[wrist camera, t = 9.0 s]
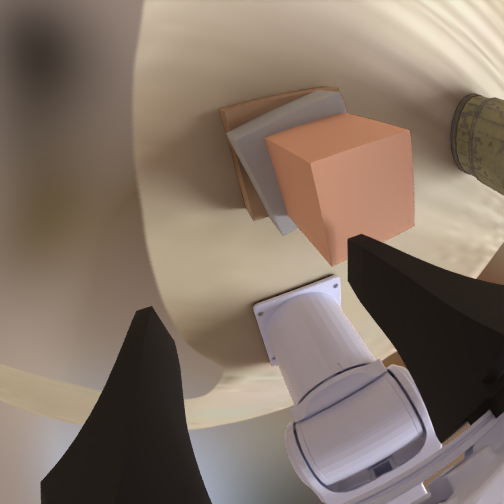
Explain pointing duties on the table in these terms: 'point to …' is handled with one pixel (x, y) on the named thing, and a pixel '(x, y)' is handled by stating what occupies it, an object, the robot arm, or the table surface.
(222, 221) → the table surface
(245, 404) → the table surface
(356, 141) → the terracotta block
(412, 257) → the robot arm
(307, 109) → the tower middle
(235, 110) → the tower base
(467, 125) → the stone statue
